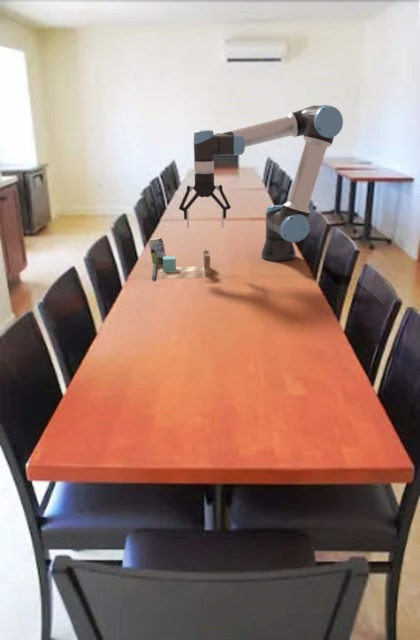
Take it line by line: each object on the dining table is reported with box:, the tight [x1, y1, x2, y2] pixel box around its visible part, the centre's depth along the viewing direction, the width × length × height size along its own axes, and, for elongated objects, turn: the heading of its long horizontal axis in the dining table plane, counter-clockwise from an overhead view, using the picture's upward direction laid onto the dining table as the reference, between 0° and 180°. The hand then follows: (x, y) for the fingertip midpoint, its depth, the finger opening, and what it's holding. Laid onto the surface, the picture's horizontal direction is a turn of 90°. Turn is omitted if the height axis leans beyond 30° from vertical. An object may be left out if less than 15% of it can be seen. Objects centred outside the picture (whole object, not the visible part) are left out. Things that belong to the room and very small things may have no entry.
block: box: [162, 255, 177, 273], centre depth 230 cm, size 5×5×5 cm
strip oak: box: [158, 252, 211, 280], centre depth 221 cm, size 20×7×9 cm, turn 93°
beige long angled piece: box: [159, 247, 210, 273], centre depth 230 cm, size 20×7×9 cm, turn 93°
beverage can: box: [148, 236, 167, 266], centre depth 240 cm, size 6×7×12 cm
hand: (205, 227), depth 225 cm, fingers open, 13 cm apart
